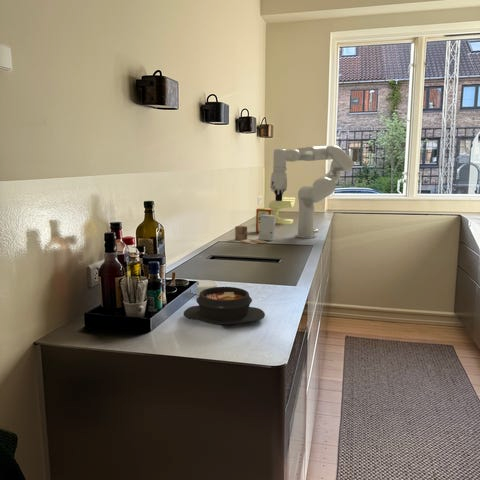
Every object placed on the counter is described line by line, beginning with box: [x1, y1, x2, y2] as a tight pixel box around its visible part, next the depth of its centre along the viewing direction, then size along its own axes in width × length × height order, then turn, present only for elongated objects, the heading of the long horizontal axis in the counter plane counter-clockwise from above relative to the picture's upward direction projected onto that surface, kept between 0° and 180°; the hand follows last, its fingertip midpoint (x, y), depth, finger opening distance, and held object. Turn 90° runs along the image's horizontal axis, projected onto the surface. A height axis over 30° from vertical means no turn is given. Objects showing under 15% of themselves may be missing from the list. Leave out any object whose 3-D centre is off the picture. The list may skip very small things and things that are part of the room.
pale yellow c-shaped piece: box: [268, 196, 296, 225], centre depth 352 cm, size 30×16×18 cm, turn 167°
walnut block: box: [234, 225, 248, 241], centre depth 277 cm, size 5×5×8 cm
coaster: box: [196, 279, 218, 296], centre depth 170 cm, size 10×10×4 cm
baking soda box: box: [255, 207, 273, 234], centre depth 304 cm, size 10×6×16 cm
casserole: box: [182, 286, 266, 326], centre depth 142 cm, size 25×19×8 cm
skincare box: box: [258, 214, 276, 241], centre depth 277 cm, size 8×6×15 cm
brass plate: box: [238, 238, 269, 245], centre depth 272 cm, size 12×12×1 cm
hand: (278, 200), depth 279 cm, fingers closed
